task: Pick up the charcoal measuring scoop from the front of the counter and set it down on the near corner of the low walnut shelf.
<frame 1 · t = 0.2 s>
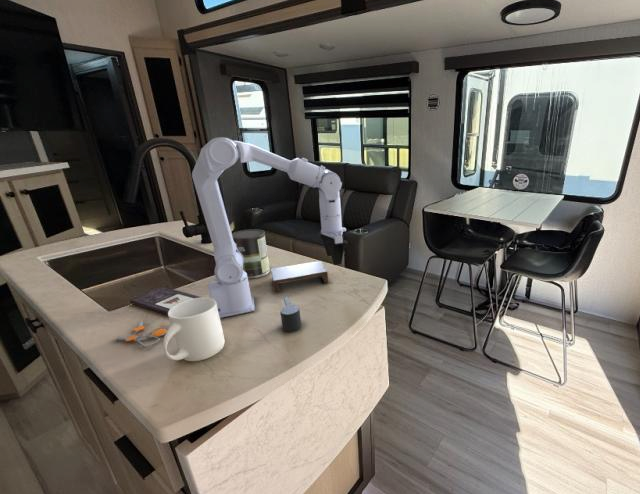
hand: (334, 259, 94), 10 cm above the countertop, tool pointing down, fingers open, 7 cm apart
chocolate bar: (168, 302, 90), on the countertop
key chain: (143, 335, 75), on the countertop
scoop: (292, 327, 78), on the countertop
shelf: (300, 281, 103), on the countertop
mug: (197, 355, 68), on the countertop
coffee can: (254, 273, 109), on the countertop
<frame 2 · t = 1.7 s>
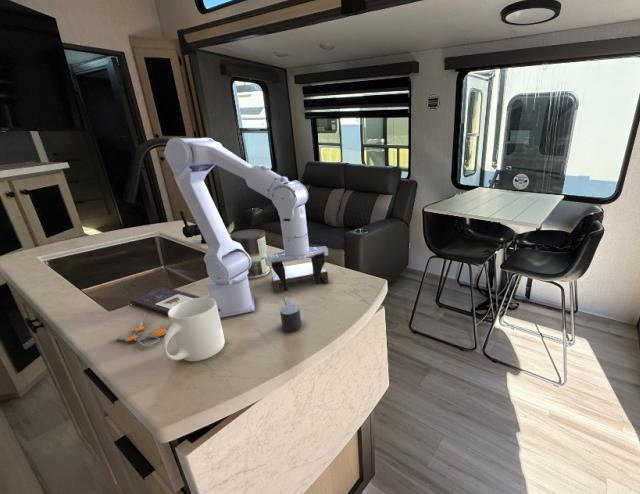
hand: (301, 286, 80), 9 cm above the countertop, tool pointing down, fingers open, 7 cm apart
nothing on the countertop moved.
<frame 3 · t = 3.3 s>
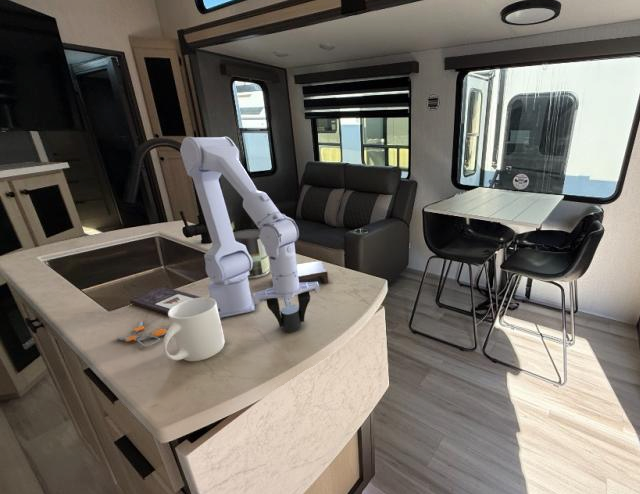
hand: (291, 322, 78), 1 cm above the countertop, tool pointing down, fingers closed on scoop, 4 cm apart
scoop: (292, 327, 78), on the countertop, touching gripper
everything else where it was.
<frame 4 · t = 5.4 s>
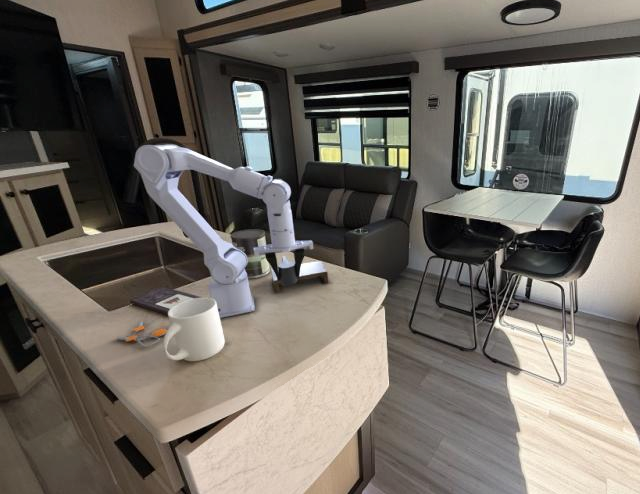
hand: (288, 277, 86), 8 cm above the countertop, tool pointing down, fingers closed on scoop, 4 cm apart
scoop: (288, 281, 86), point 7 cm above the countertop, touching gripper
everything else where it was.
when the fingers open (5 cm above the countertop, at t = 7.5 s): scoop stays where it is, resting on shelf.
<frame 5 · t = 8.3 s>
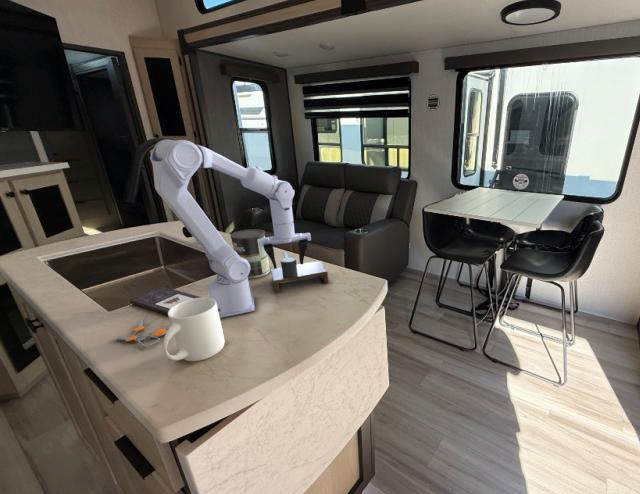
hand: (288, 265, 97), 7 cm above the countertop, tool pointing down, fingers open, 7 cm apart
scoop: (290, 274, 98), point 4 cm above the countertop, touching shelf
everything else where it was.
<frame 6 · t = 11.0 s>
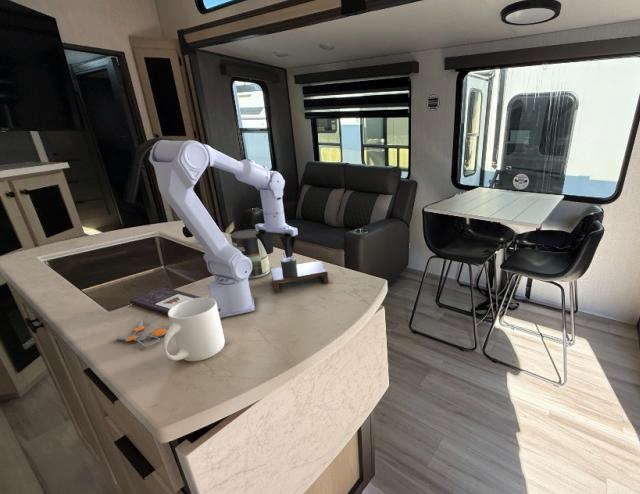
hand: (279, 255, 99), 9 cm above the countertop, tool pointing down, fingers open, 7 cm apart
nothing on the countertop moved.
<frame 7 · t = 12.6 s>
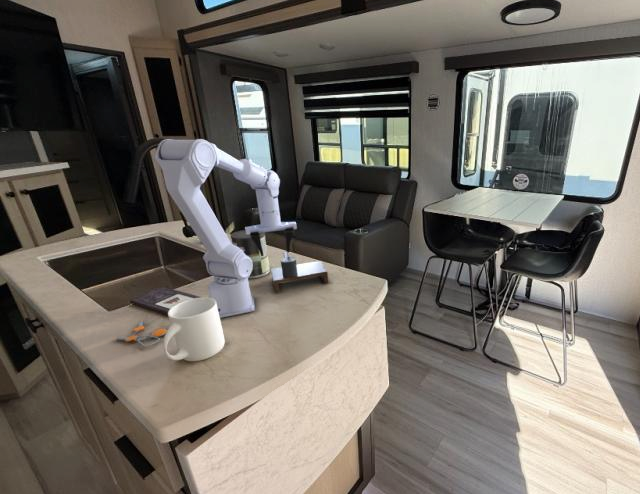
hand: (275, 253, 100), 9 cm above the countertop, tool pointing down, fingers open, 7 cm apart
nothing on the countertop moved.
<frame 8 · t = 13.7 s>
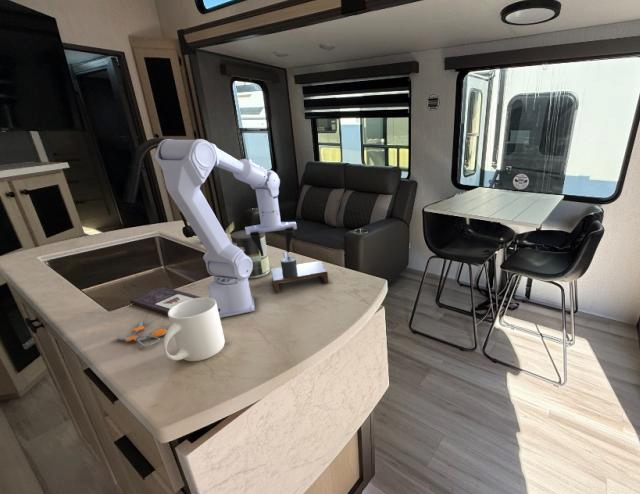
hand: (275, 253, 100), 9 cm above the countertop, tool pointing down, fingers open, 7 cm apart
nothing on the countertop moved.
at the end: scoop inside the target area on the shelf (0.7 cm from its centre), point 4.0 cm above the shelf's base; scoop tilted 0°; the gripper is holding nothing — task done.
